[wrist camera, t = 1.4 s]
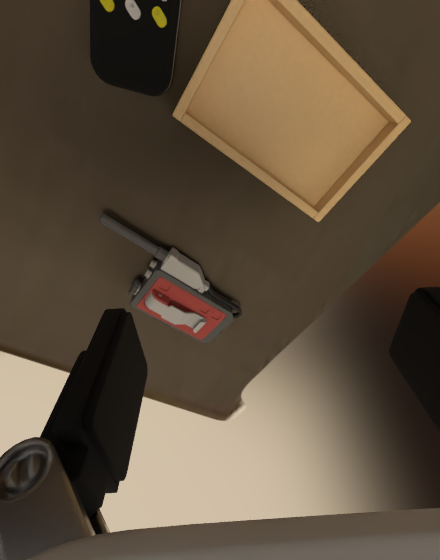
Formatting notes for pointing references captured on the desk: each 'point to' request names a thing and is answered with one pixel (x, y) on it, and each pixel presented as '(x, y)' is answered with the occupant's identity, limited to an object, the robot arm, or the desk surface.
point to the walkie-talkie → (177, 291)
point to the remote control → (134, 43)
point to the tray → (288, 104)
